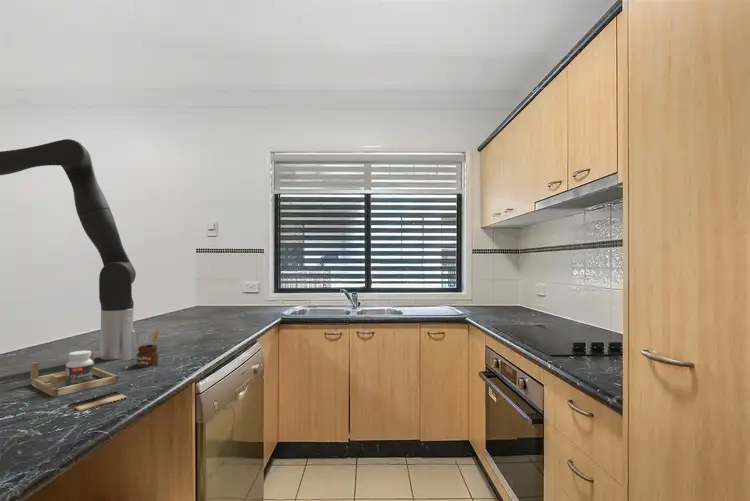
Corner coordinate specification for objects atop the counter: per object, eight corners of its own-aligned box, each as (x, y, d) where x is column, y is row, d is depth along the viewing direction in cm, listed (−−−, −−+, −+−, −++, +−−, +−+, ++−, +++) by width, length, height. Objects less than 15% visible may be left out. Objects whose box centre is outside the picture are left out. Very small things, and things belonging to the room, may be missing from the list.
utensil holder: (146, 365, 127) (147, 328, 127) (163, 366, 126) (164, 329, 126) (131, 370, 121) (132, 331, 121) (149, 371, 120) (150, 332, 120)
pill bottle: (70, 395, 99) (71, 356, 99) (61, 391, 102) (61, 353, 102) (96, 389, 104) (97, 351, 104) (86, 385, 107) (87, 348, 107)
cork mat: (109, 390, 103) (109, 389, 103) (127, 398, 97) (127, 396, 97) (62, 401, 94) (62, 400, 94) (79, 411, 89) (79, 409, 89)
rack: (92, 376, 115) (92, 352, 115) (118, 387, 105) (118, 361, 106) (30, 389, 103) (30, 362, 103) (53, 402, 94) (54, 373, 94)
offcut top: (81, 376, 110) (81, 369, 110) (86, 377, 109) (86, 370, 109) (51, 383, 104) (51, 375, 104) (56, 385, 103) (56, 377, 103)
